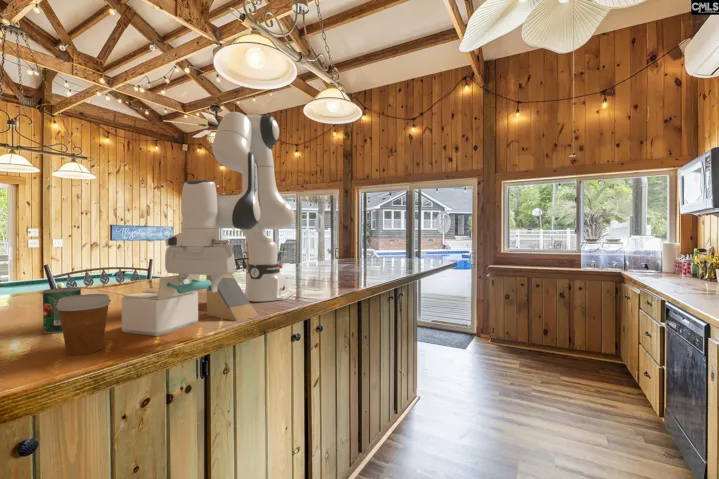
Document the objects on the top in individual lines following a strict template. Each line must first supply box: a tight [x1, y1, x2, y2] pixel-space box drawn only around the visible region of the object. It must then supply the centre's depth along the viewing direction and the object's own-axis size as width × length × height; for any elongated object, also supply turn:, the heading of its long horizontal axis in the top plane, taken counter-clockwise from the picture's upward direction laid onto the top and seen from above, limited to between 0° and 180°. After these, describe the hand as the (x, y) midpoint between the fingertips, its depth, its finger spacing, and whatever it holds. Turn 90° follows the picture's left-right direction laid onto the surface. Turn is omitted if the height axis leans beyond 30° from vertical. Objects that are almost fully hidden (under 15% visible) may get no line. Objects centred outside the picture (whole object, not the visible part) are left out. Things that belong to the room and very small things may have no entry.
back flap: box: [122, 288, 159, 299], centre depth 95 cm, size 13×6×1 cm, turn 162°
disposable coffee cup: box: [56, 293, 112, 356], centre depth 75 cm, size 10×10×12 cm
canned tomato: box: [42, 286, 82, 334], centre depth 92 cm, size 8×8×11 cm
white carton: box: [121, 291, 199, 337], centre depth 94 cm, size 14×12×9 cm
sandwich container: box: [205, 274, 259, 322], centre depth 109 cm, size 9×15×15 cm, turn 58°
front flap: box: [157, 274, 212, 299], centre depth 91 cm, size 13×6×6 cm
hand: (200, 291), depth 90 cm, fingers open, 7 cm apart
